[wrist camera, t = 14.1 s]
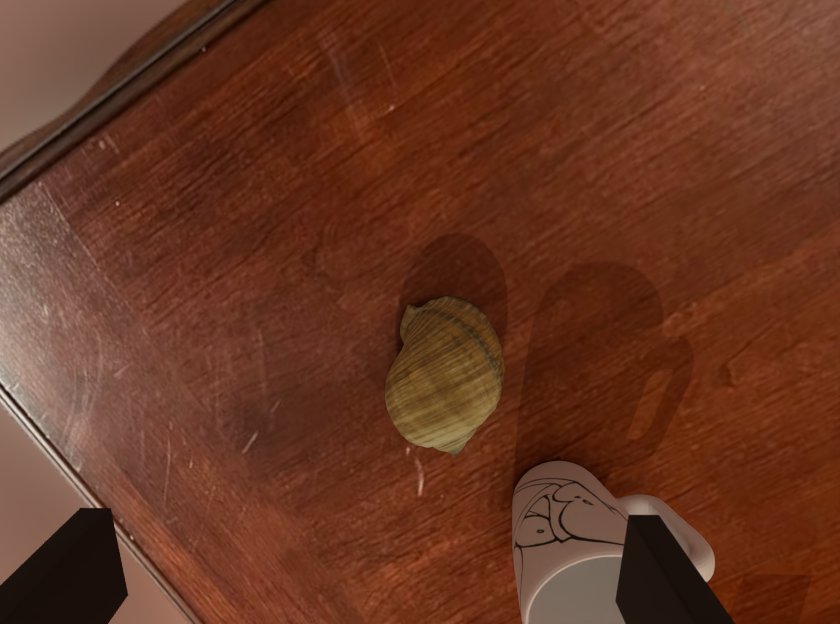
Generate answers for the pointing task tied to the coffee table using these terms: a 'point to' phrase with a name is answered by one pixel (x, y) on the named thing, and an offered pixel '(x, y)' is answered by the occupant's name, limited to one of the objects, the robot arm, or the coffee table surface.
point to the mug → (580, 544)
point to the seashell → (444, 374)
